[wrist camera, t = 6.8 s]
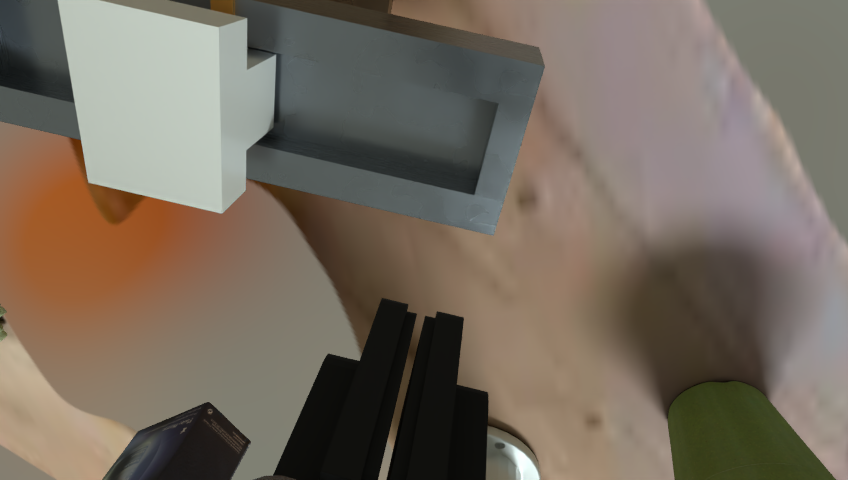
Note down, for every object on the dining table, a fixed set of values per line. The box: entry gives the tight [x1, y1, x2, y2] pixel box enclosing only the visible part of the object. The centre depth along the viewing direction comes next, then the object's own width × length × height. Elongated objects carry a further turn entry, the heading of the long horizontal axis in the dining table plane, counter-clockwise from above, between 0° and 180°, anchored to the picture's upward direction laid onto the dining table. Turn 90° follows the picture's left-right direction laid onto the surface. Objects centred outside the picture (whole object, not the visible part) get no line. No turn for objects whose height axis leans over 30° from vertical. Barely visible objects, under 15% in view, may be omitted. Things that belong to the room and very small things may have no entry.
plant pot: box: [668, 381, 836, 480], centre depth 35 cm, size 12×12×11 cm
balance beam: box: [0, 0, 545, 235], centre depth 25 cm, size 23×12×12 cm, turn 79°
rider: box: [58, 0, 276, 214], centre depth 19 cm, size 5×6×5 cm
